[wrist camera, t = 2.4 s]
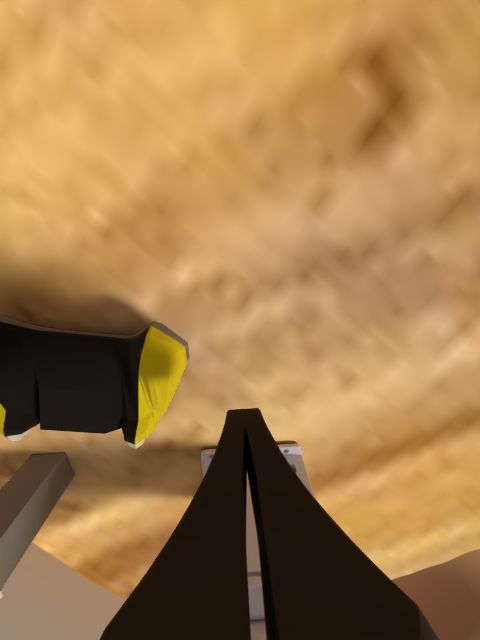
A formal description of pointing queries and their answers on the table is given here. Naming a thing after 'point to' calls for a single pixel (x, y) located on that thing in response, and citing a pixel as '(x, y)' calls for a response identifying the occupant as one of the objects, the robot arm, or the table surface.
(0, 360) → the black yellow sneaker
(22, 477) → the posts
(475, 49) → the table surface
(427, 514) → the table surface
